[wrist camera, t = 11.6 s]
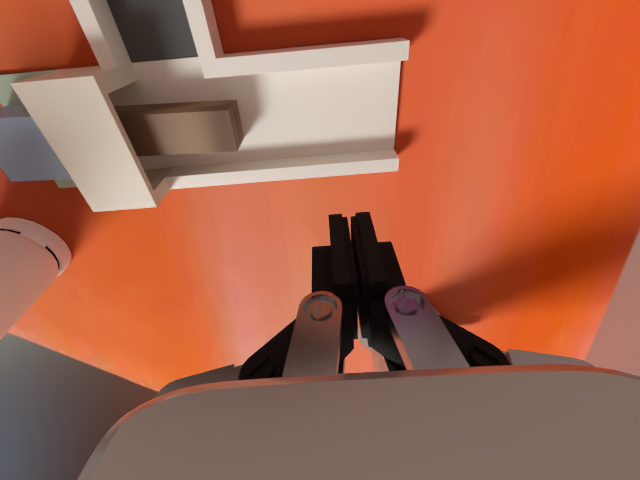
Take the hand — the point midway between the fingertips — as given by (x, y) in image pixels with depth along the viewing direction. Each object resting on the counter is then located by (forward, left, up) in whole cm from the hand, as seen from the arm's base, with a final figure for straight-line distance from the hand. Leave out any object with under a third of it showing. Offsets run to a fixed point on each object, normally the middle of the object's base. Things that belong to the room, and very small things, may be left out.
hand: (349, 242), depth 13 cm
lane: (+11, -3, -18) cm, 21 cm away
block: (+24, -1, -17) cm, 30 cm away
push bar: (+15, -1, -17) cm, 23 cm away
